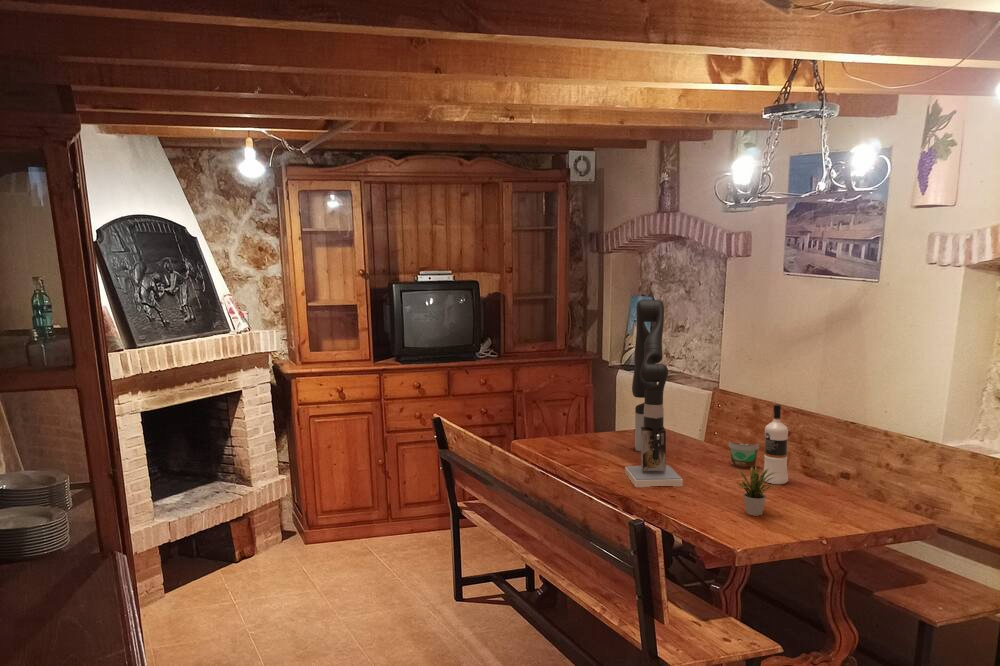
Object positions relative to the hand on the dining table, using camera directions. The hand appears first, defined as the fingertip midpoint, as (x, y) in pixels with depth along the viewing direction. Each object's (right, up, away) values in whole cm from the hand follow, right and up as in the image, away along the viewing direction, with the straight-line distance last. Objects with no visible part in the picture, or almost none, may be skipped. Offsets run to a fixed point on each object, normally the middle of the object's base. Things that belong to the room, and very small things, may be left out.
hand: (653, 456), depth 272 cm
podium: (0, -9, +1) cm, 9 cm away
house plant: (+27, -13, -38) cm, 48 cm away
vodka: (+46, -9, -3) cm, 47 cm away
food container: (+40, -7, +16) cm, 44 cm away
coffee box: (0, -5, +1) cm, 5 cm away
